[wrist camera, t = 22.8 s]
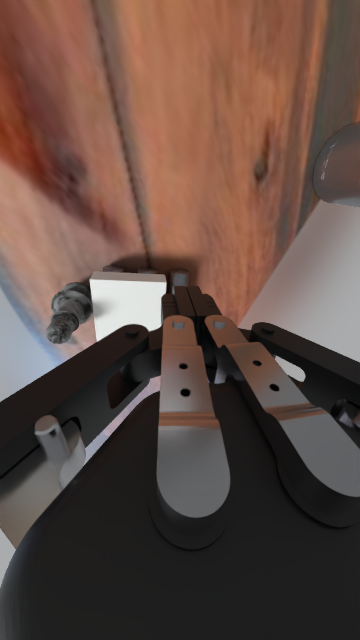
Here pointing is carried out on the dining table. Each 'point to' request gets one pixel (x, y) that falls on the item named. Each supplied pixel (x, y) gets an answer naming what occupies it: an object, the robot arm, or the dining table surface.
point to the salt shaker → (69, 311)
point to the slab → (126, 300)
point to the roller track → (176, 275)
